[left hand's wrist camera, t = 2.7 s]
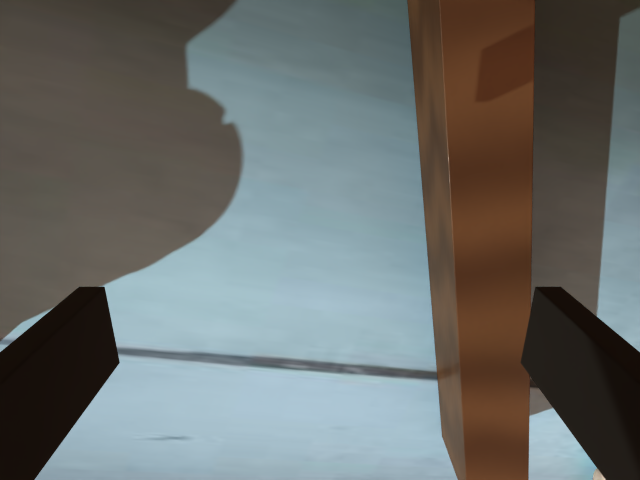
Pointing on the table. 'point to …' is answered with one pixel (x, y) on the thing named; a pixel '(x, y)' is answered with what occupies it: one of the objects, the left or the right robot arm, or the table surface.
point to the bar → (478, 220)
